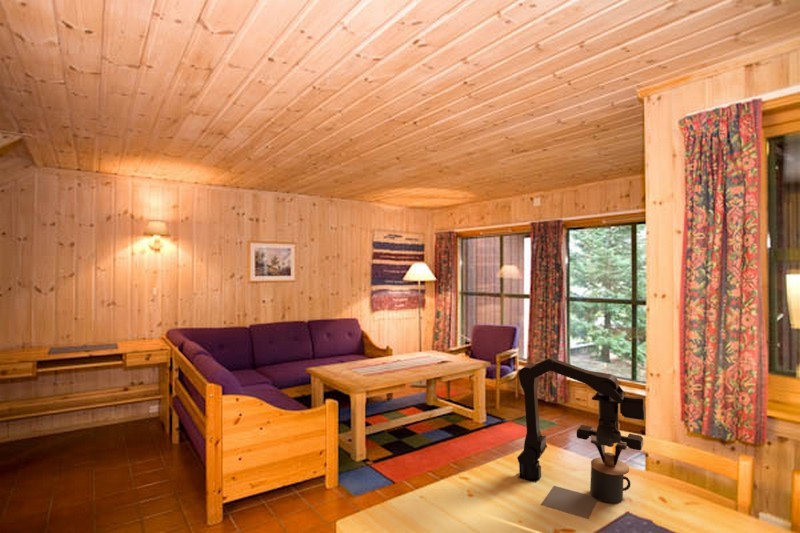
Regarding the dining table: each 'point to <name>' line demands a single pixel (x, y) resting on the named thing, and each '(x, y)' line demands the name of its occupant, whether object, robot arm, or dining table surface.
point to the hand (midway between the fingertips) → (609, 463)
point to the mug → (607, 486)
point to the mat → (570, 502)
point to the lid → (610, 465)
